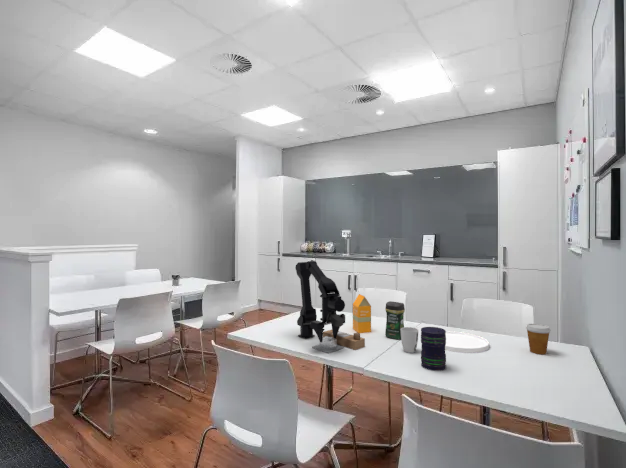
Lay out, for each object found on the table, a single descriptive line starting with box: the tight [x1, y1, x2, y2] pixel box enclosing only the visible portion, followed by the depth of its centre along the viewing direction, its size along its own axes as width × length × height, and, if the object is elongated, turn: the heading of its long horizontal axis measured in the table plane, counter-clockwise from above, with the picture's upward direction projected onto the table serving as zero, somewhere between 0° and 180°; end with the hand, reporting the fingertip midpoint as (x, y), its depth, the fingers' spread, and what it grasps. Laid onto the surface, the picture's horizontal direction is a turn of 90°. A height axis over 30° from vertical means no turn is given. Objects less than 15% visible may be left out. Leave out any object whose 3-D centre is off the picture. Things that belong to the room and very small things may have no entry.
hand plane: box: [323, 329, 366, 351], centre depth 176 cm, size 22×7×6 cm, turn 42°
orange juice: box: [352, 293, 372, 334], centre depth 198 cm, size 8×9×20 cm
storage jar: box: [420, 326, 447, 372], centre depth 145 cm, size 10×10×15 cm
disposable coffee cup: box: [525, 323, 551, 355], centre depth 161 cm, size 10×10×12 cm
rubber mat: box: [311, 344, 345, 354], centre depth 169 cm, size 11×11×1 cm
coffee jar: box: [384, 301, 405, 340], centre depth 185 cm, size 10×8×19 cm
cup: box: [400, 326, 419, 354], centre depth 163 cm, size 8×8×10 cm
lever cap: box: [319, 336, 338, 350], centre depth 169 cm, size 7×4×5 cm, turn 42°
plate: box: [445, 330, 490, 354], centre depth 174 cm, size 28×28×2 cm
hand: (328, 340), depth 169 cm, fingers open, 9 cm apart
